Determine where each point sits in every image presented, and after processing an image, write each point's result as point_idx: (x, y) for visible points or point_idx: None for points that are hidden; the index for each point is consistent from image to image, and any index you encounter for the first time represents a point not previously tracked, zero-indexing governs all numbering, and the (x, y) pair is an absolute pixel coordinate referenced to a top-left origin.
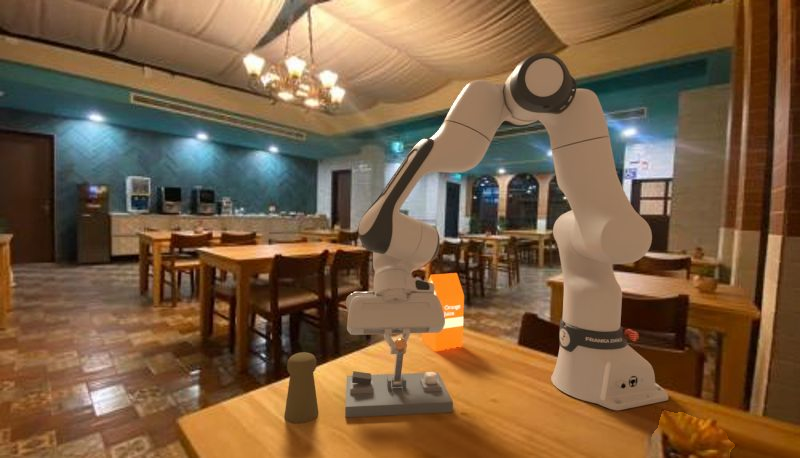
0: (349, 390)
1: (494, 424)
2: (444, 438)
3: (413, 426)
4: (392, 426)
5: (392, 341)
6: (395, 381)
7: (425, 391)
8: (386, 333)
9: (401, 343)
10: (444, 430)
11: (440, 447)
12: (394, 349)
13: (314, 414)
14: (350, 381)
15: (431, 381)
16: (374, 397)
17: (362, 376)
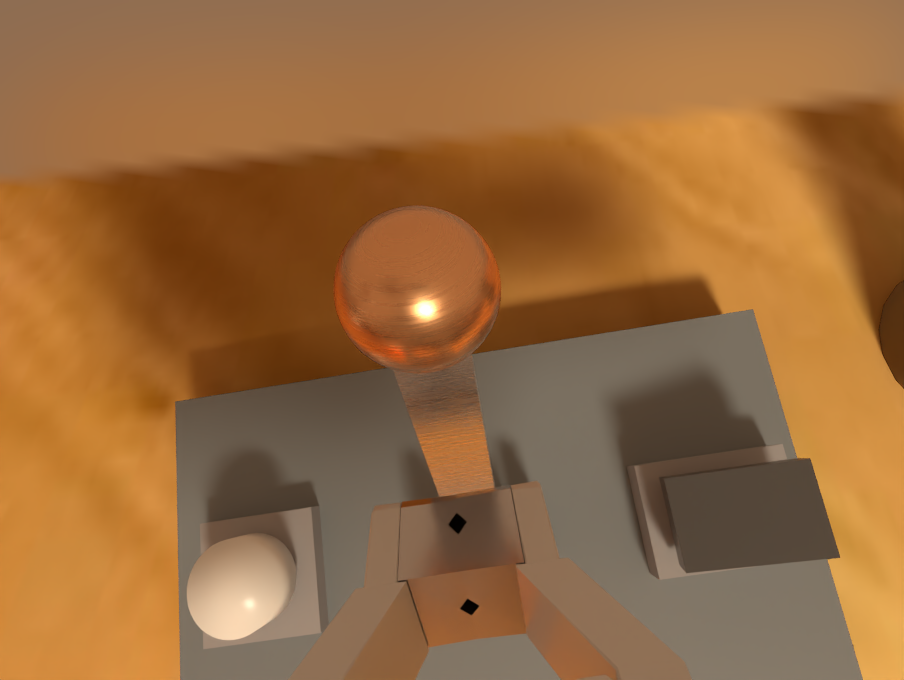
0: None
1: (50, 328)
2: (279, 221)
3: None
4: None
5: (540, 572)
6: None
7: (308, 505)
8: (664, 675)
9: (402, 210)
10: (270, 270)
11: (303, 171)
12: (504, 491)
13: (895, 308)
14: None
15: (248, 534)
16: (608, 414)
17: (740, 493)
